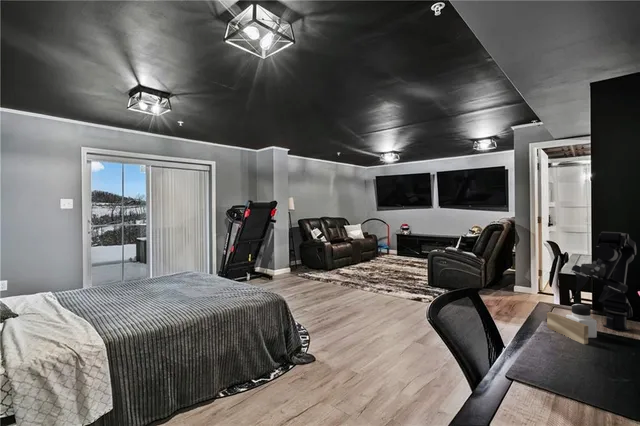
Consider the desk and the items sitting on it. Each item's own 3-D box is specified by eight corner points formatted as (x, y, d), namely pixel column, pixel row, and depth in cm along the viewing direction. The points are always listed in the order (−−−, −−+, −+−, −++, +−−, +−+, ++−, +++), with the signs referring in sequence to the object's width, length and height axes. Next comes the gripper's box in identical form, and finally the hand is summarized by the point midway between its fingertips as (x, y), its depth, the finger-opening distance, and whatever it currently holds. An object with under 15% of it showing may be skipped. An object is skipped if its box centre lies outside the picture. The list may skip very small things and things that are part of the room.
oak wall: (551, 328, 137) (551, 312, 137) (588, 343, 122) (588, 325, 121) (547, 328, 137) (547, 312, 137) (583, 344, 121) (583, 326, 121)
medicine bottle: (597, 337, 127) (597, 308, 127) (579, 338, 127) (579, 308, 127) (582, 330, 134) (582, 302, 134) (565, 330, 134) (565, 302, 134)
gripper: (570, 248, 135) (553, 281, 137) (616, 265, 117) (596, 302, 119) (589, 256, 137) (572, 288, 140) (638, 273, 119) (617, 309, 122)
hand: (588, 296), depth 130 cm, fingers open, 9 cm apart
